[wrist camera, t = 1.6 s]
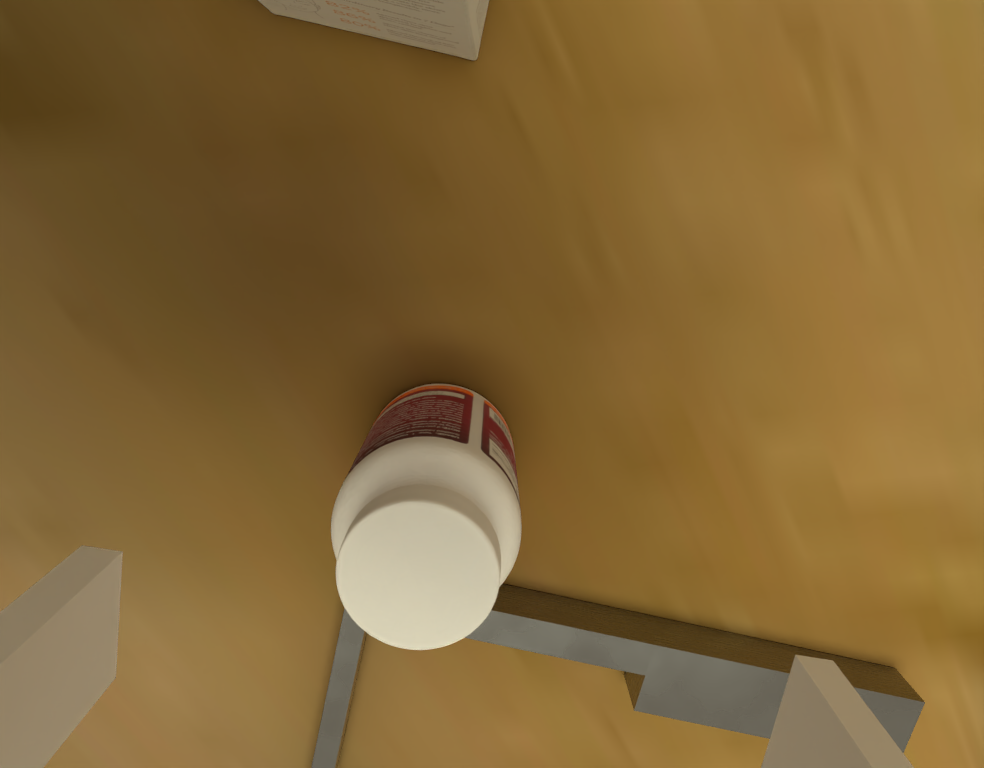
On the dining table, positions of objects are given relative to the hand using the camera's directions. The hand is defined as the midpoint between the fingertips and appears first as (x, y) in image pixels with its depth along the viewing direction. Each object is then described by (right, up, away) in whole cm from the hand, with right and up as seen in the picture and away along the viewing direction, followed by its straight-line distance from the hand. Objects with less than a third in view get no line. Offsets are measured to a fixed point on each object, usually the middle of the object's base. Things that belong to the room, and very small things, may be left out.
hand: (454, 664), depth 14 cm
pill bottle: (-1, +3, +17) cm, 17 cm away
